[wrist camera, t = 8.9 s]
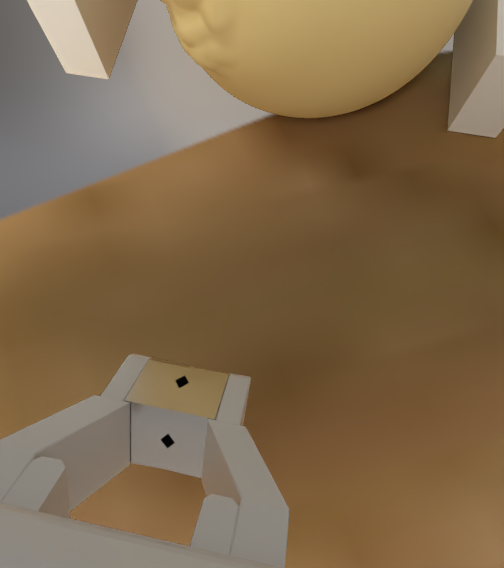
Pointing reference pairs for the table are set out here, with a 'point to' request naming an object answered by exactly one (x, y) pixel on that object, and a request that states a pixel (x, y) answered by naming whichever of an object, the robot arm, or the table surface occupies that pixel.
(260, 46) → the sculpture
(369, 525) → the table surface
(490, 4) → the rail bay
